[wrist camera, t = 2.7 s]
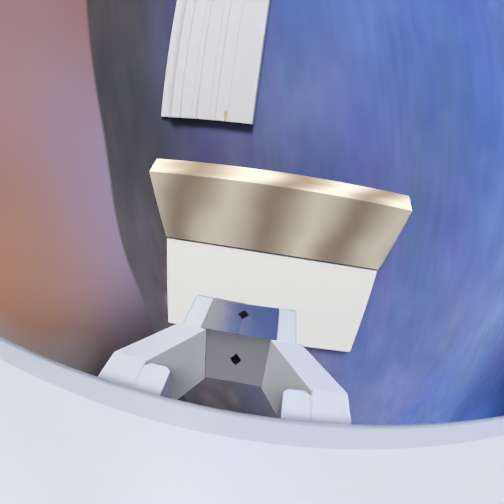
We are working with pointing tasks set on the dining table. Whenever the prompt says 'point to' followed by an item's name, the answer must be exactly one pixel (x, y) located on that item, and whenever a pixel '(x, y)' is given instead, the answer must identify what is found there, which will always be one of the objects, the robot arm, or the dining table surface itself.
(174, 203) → the birch plank
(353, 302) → the white board
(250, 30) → the baseboard
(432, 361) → the dining table surface
